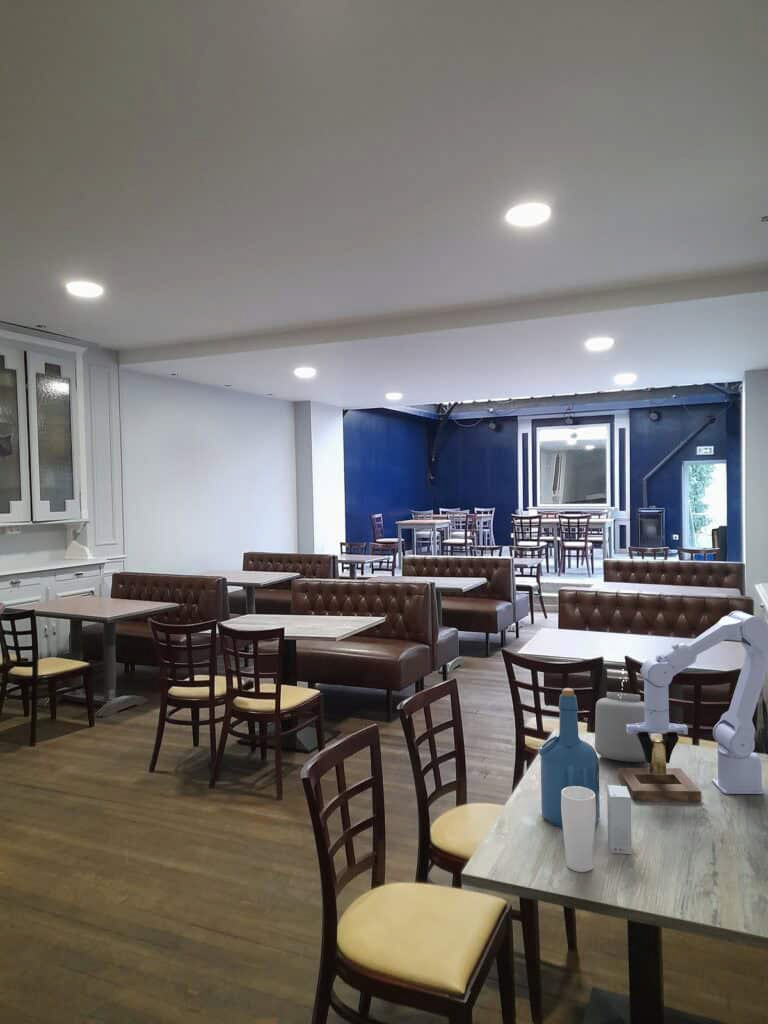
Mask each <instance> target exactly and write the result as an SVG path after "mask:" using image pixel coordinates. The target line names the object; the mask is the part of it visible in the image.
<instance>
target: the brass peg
mask: <svg viewBox="0 0 768 1024" xmlns="http://www.w3.org/2000/svg"><path fill="white" fill-rule="evenodd" d="M650 755H651V763H648V768H649V772H650V773H651V774H653V775H658V776H663V775H666V768H667V763H666V741H665V740H663V738H660V737H659V738H658V737H651V747H650Z"/></svg>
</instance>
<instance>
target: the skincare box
mask: <svg viewBox="0 0 768 1024" xmlns="http://www.w3.org/2000/svg"><path fill="white" fill-rule="evenodd" d="M606 786H607V787H606V788H607V791H606V792H607V794H606V795H607V797H606V798H607V799H606V800H607V807H606V808H607V840H608V845H609V850H610V852H611V853H612V854H625V855H632V798H631V797H630V794H629V791H628V789H627V786H623V785H614V784H613V785H611V784H607V785H606Z"/></svg>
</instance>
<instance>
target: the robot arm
mask: <svg viewBox="0 0 768 1024" xmlns="http://www.w3.org/2000/svg"><path fill="white" fill-rule="evenodd" d="M724 641H738V642H740V643H741V644H742V646H743V648H744V649H745V651H746V654H745V657H744V659H743V663H742V667H741V669H740V672H739V676H738V680H737V683H736V685H735V689H734V692H733V696H732V699H731V702H730V705H729V708H728V710H727V711H725V712H724V713H722V715H721V716H720V719H719V721H718V722H717V723H716V724H715V725H714V727H713V729H712V736H713V739H714V740H715V742H716V743H717V778H712V779H711V781H712V783H713V784H714V785H715V786H716V787H717V788H718V789H719V791H721V792H722V793H723V794H726V795H729V794H730V795H732V794H733V795H734V794H736V795H738V794H739V795H763V794H764V791H763V768H762V767H763V766H762V761H761V759H760V757H759V754H757V753H756V752H754V750H755V747H756V745H755V744H756V743H755V734H756V728H755V725H754V722H753V717H754V714H755V711H756V708H757V704H758V702H759V699H760V695H761V692H762V689H763V685H764V683H765V679H766V676H767V674H768V673H767V672H768V623H767V621H766V620H764V618H762V617H760V616H755V615H752V614H749V613H746V612H744V611H741V610H734V611H731V612H730V613H729V614H728V615H724V616H723V617H721V618H720V619H719V621H717V622H716V623H715V624H714V625H712V626H711V627H710V628H708V629H706V630H705V631H704V632H702V633H701V634H699V636H697V637H695V638H694V639H692V640H691V641H690V642H688V643H683V642H679V643H676V642H675V643H673V644H671V648H670V649H668V650H666V651H664V652H663V653H661V654H657V655H656V656H655V658H649V659H647V660H645V661H644V662H643V665H641V668H640V669H639V672H640V675H641V676H642V678H643V679H644V680H643V687H644V688H643V696H644V697H643V698H644V699H643V702H644V713H645V722H644V723H637V724H626V732H627V733H628V734H633V733H636V734H637V736H638V738H639V740H640V743H641V745H642V748H643V751H644V755H645V761H644V762H646V763H647V764H649V763H651V755H650V747H651V738H652V737H651V738H650V737H649V735H648V733H651V734H662V739H663V740H665V741H666V764H670V761H671V756H672V753H673V751H674V749H675V746H676V745H677V743H678V742H679V738H680V737H679V735H678V734H681V735H682V734H683V735H688V734H689V732H688V731H689V727H688V726H687V725H686V724H683V723H681V724H680V723H671V722H670V712H669V711H670V710H669V709H670V704H669V701H670V700H669V696H670V695H669V693H670V691H669V685H670V684H671V683H672V681H673V677H674V676H676V675H677V674H679V673H680V672H682V671H684V670H685V669H686V668H688V667H690V666H691V665H693V664H695V663H696V661H697V658H698V657H697V656H698V655H700V654H701V653H704V652H705V651H707V650H709V649H711V648H713V647H714V646H717V645H718V644H720V643H722V642H724Z"/></svg>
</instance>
